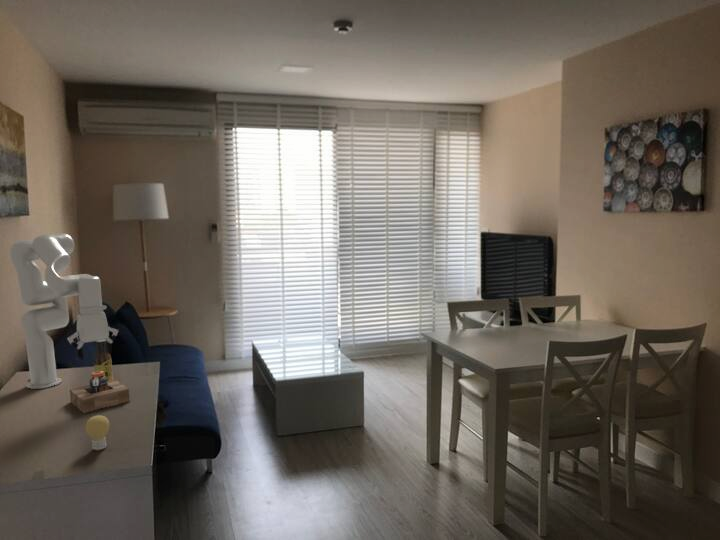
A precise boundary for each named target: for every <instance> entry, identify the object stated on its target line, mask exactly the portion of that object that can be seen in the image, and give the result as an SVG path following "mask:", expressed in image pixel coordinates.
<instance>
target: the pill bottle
mask: <svg viewBox="0 0 720 540" xmlns="http://www.w3.org/2000/svg"><path fill="white" fill-rule="evenodd" d="M91 377H92V378H90V380H89V385H90V391H91V394H93V393H98V392H102V391H106V390H108V383H107V378H106V377H105V376H104V372H103V371H96V372H95V371H93V372H91Z"/></svg>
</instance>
